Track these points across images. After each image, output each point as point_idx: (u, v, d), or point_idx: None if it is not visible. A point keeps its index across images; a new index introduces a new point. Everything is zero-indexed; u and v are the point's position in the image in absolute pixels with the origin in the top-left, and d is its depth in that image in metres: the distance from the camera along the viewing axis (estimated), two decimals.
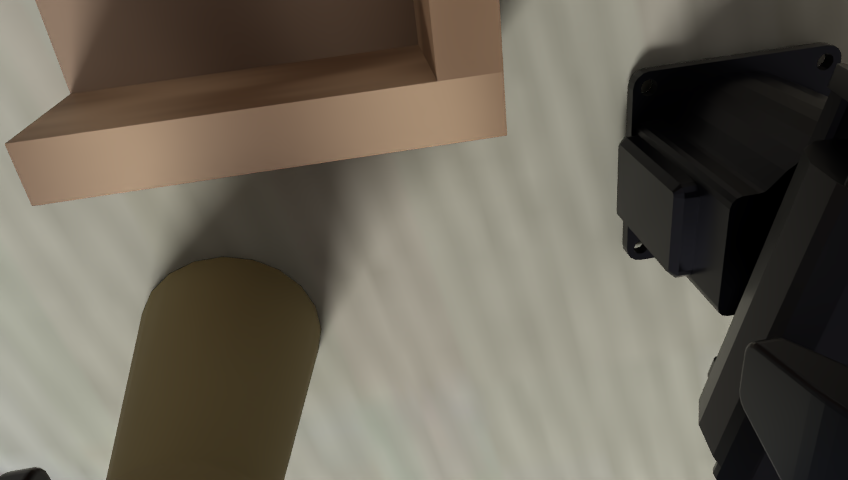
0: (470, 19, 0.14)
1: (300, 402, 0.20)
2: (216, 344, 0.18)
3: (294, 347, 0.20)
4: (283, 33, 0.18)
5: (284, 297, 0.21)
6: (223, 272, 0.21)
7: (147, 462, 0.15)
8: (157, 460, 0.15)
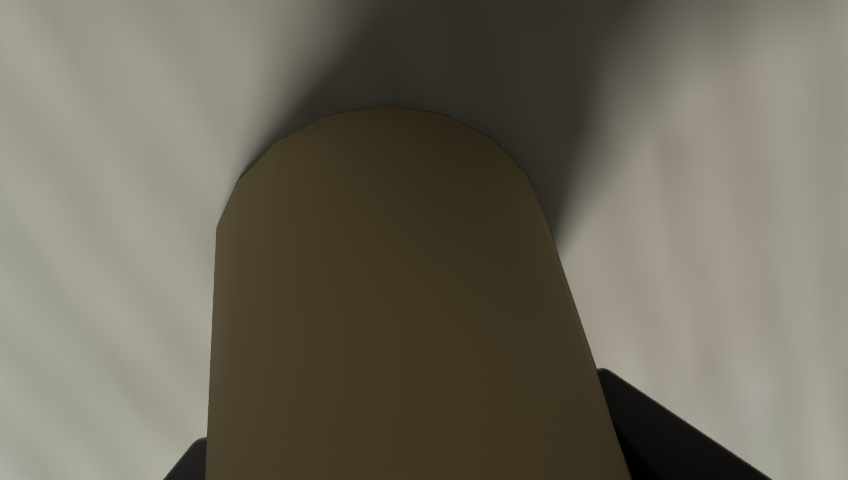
0: None
1: None
2: (443, 256, 0.07)
3: (565, 282, 0.09)
4: None
5: (517, 184, 0.10)
6: (397, 129, 0.10)
7: None
8: None
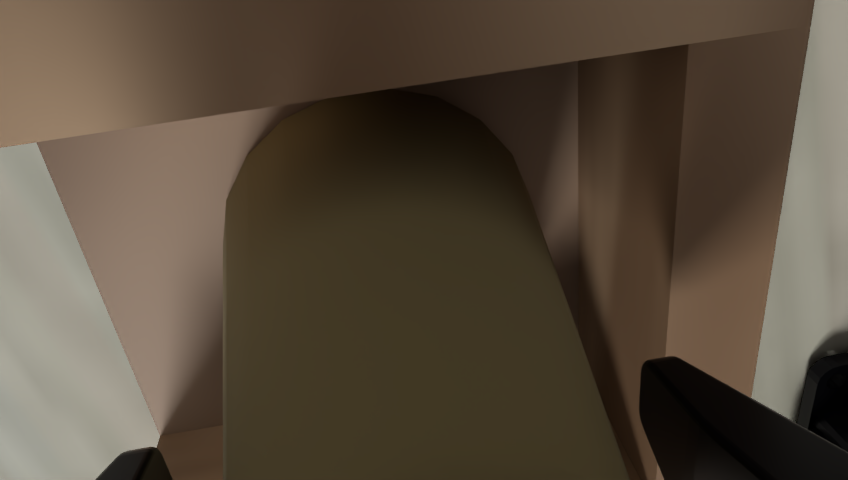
0: None
1: None
2: (437, 210, 0.08)
3: (545, 244, 0.10)
4: None
5: (503, 160, 0.11)
6: (394, 107, 0.11)
7: (384, 470, 0.05)
8: (410, 463, 0.05)
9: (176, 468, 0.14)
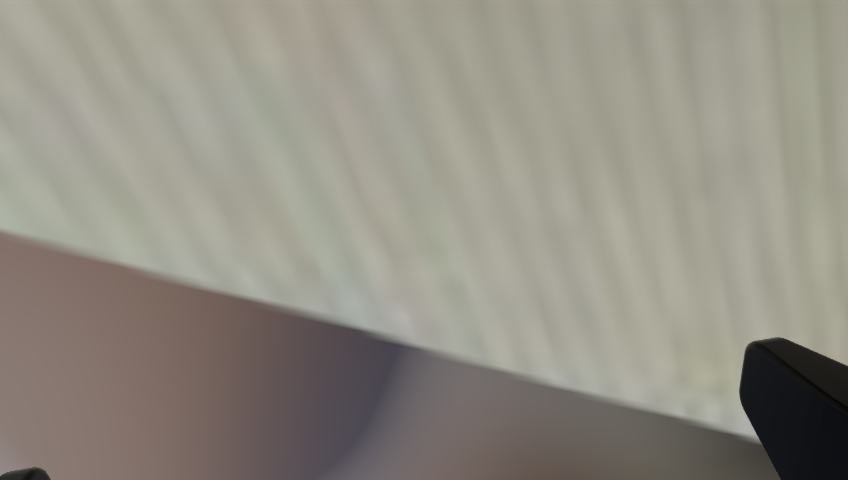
0: None
1: None
2: None
3: None
4: None
5: None
6: None
7: None
8: None
9: None
